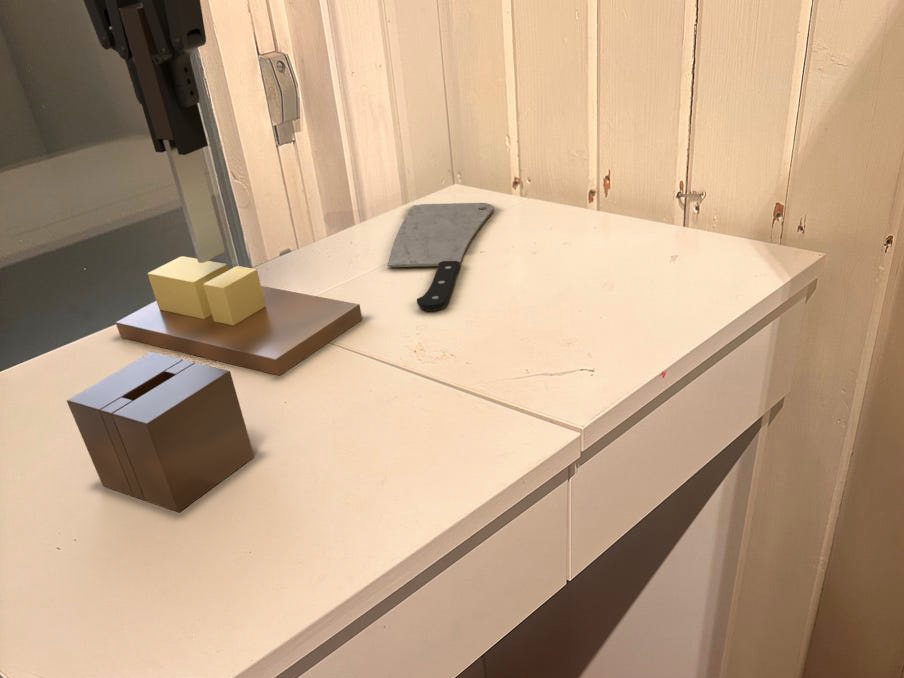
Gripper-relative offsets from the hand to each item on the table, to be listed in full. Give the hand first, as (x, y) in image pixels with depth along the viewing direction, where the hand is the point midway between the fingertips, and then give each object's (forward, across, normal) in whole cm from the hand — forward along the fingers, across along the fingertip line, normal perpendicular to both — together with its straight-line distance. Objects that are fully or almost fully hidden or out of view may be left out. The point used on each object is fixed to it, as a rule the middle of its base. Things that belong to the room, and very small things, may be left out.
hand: (181, 148), depth 76 cm
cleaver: (+16, -8, -22) cm, 28 cm away
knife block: (+15, -14, +21) cm, 30 cm away
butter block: (+14, +4, 0) cm, 14 cm away
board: (+15, -1, 0) cm, 16 cm away
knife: (+9, 0, 0) cm, 9 cm away
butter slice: (+14, -2, 0) cm, 14 cm away
